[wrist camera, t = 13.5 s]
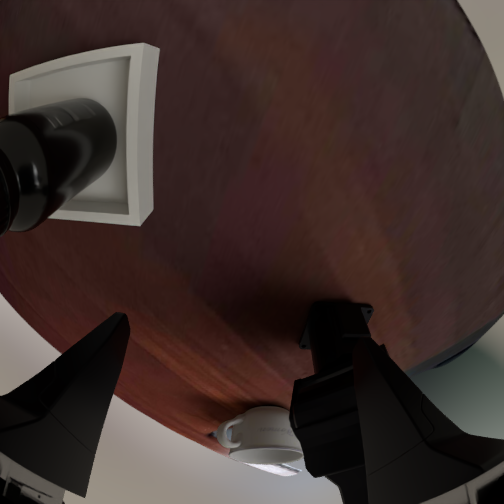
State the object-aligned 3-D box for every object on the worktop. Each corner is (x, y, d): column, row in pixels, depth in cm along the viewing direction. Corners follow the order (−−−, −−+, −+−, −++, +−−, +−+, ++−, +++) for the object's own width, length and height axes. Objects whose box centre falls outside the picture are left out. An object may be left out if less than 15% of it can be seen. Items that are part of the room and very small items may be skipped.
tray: (153, 209, 22) (140, 226, 19) (39, 202, 21) (20, 215, 18) (159, 48, 15) (144, 42, 12) (32, 72, 14) (9, 75, 12)
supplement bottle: (41, 131, 17) (-72, 184, 6) (96, 79, 15) (-37, 99, 5) (76, 196, 20) (-20, 283, 10) (136, 155, 18) (24, 234, 8)
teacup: (313, 414, 39) (318, 458, 32) (258, 431, 43) (258, 470, 36) (262, 381, 33) (262, 437, 27) (202, 401, 37) (195, 449, 30)
